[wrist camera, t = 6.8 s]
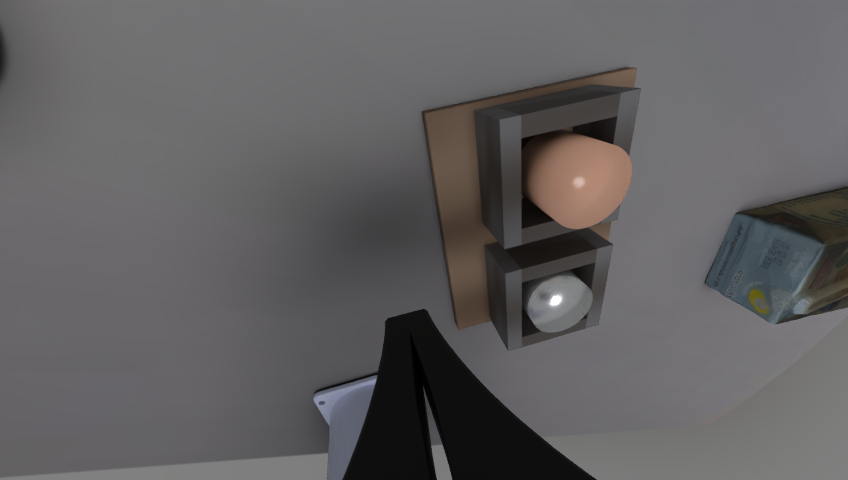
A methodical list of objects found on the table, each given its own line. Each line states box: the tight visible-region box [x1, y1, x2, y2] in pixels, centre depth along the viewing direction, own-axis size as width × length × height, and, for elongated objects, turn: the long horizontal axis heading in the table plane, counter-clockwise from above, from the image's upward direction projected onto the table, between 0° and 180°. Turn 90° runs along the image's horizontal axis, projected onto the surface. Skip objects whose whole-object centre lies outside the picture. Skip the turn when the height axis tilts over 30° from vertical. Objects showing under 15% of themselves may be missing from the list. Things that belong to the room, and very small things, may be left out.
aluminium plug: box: [522, 270, 593, 333], centre depth 21 cm, size 4×4×4 cm
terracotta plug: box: [521, 129, 632, 229], centre depth 15 cm, size 4×4×4 cm
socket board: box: [422, 68, 641, 351], centre depth 19 cm, size 16×12×4 cm
